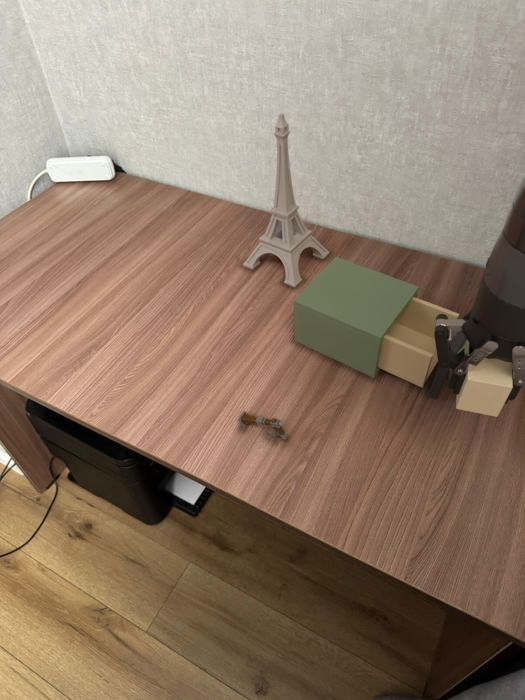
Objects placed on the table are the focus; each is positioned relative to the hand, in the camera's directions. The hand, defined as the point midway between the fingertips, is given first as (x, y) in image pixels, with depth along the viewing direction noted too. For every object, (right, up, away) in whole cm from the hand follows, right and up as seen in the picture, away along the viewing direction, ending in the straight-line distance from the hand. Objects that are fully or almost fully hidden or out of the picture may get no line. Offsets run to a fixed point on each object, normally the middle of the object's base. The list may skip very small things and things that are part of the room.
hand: (479, 392), depth 56 cm
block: (0, -1, +1) cm, 1 cm away
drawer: (+1, +3, +25) cm, 25 cm away
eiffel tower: (-20, +24, +47) cm, 57 cm away
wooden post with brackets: (-25, -8, +19) cm, 32 cm away
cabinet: (-9, +8, +31) cm, 33 cm away
